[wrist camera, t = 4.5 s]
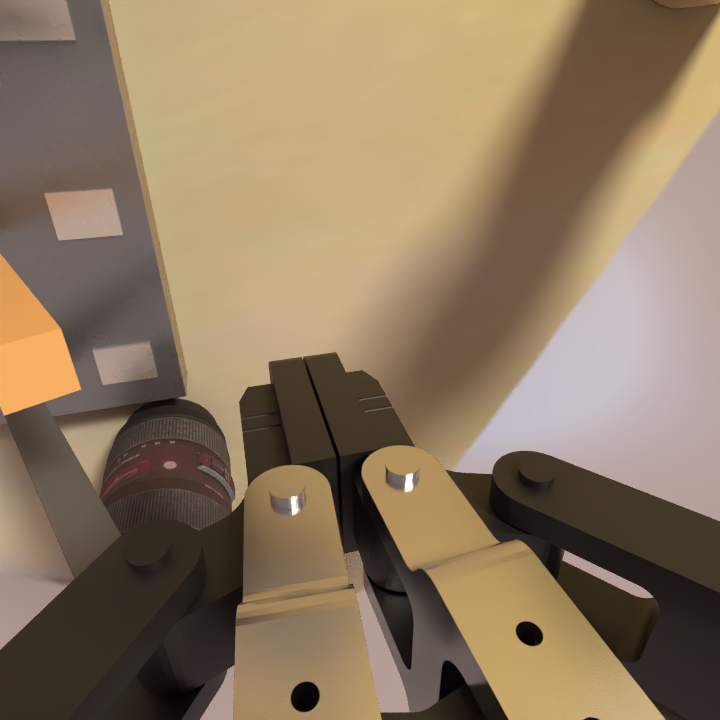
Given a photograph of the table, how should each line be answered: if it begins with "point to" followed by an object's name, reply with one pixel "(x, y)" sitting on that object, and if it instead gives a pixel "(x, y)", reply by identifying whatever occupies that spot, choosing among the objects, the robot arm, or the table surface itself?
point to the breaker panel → (83, 204)
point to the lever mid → (30, 348)
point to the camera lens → (168, 468)
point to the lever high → (62, 487)
